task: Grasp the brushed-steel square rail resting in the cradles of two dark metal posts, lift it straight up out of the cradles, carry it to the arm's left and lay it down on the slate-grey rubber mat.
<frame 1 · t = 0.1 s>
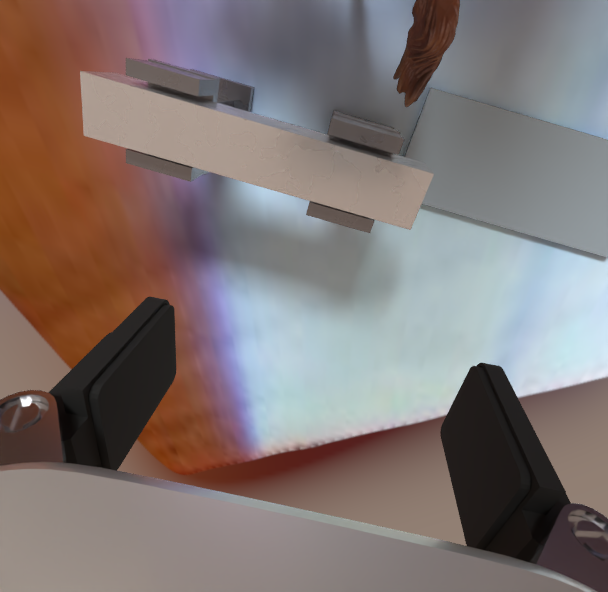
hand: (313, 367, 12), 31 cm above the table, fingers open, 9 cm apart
mat: (525, 178, 37), on the table
rail: (265, 145, 29), point 10 cm above the table, touching post a, post b
post b: (354, 151, 37), on the table
post a: (220, 112, 37), on the table
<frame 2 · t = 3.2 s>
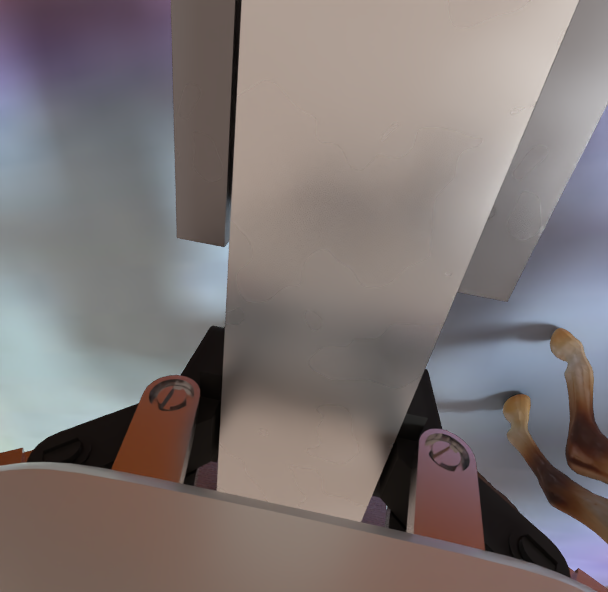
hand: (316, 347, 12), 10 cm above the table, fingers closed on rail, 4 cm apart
rail: (316, 350, 12), point 10 cm above the table, touching gripper, post b
post b: (313, 339, 24), on the table
post a: (362, 105, 17), on the table
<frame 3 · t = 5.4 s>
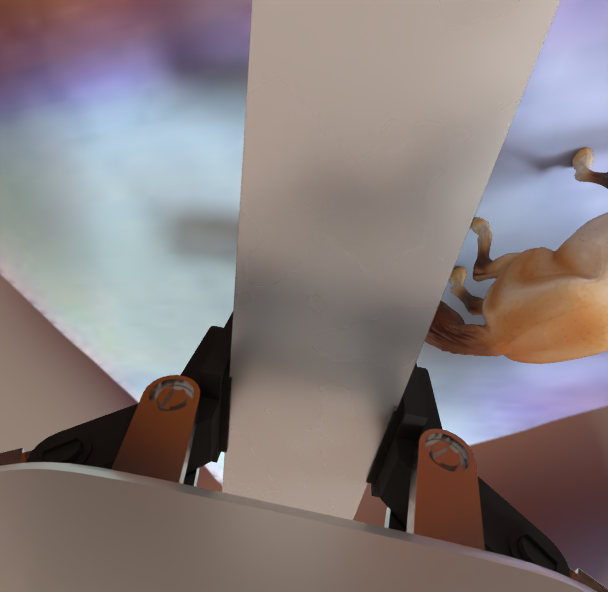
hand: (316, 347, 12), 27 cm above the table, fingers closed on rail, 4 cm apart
rail: (318, 338, 13), point 27 cm above the table, touching gripper
horse figurine: (513, 184, 35), on the table
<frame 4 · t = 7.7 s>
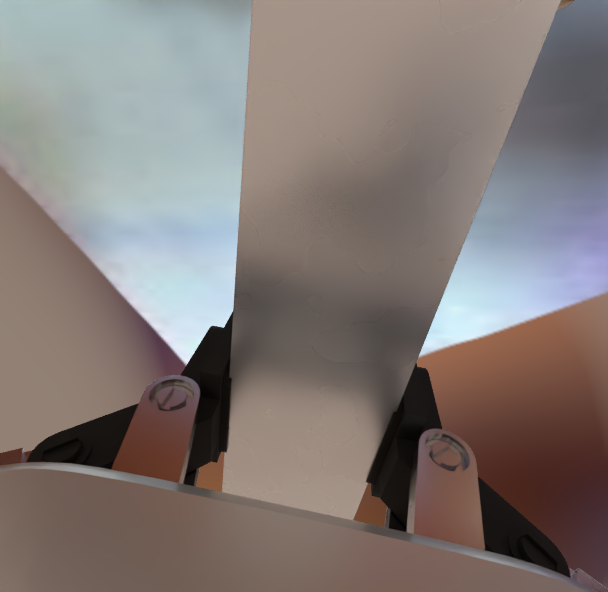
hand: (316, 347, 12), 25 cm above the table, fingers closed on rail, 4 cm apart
rail: (318, 339, 13), point 25 cm above the table, touching gripper
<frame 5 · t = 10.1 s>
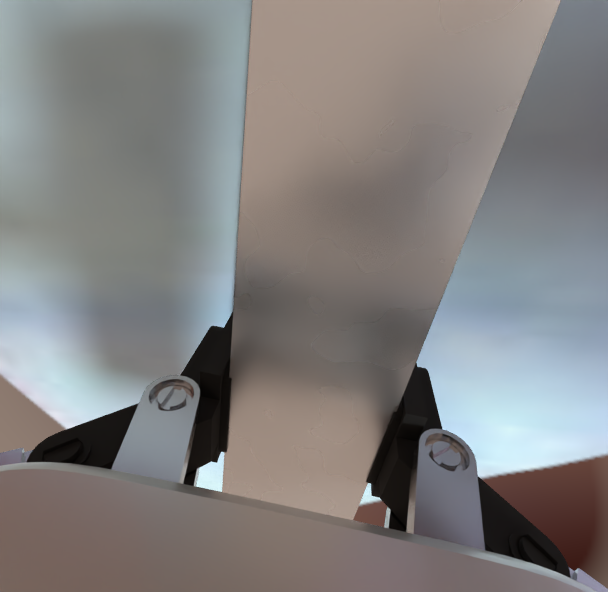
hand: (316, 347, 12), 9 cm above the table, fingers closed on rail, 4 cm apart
rail: (318, 339, 13), point 9 cm above the table, touching gripper
when the fingers open (2 cm above the table, at t = 12.4 s): rail drops 1 cm, resting on mat.
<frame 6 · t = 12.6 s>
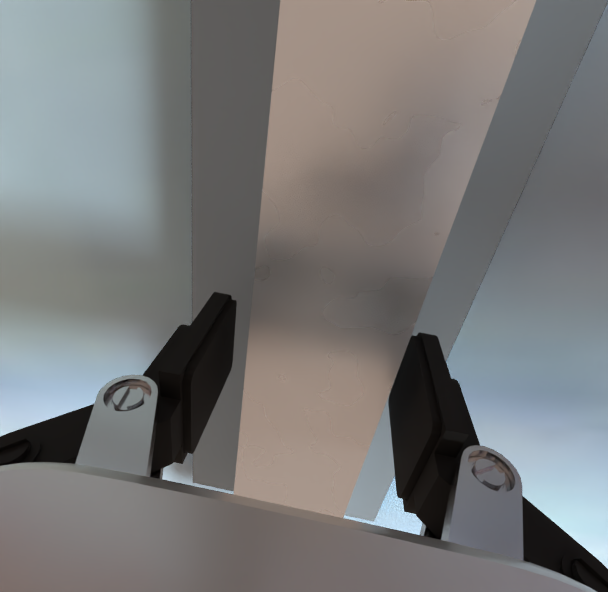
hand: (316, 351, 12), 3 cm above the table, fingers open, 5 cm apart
mat: (322, 312, 14), on the table
rail: (324, 319, 14), point 1 cm above the table, touching mat
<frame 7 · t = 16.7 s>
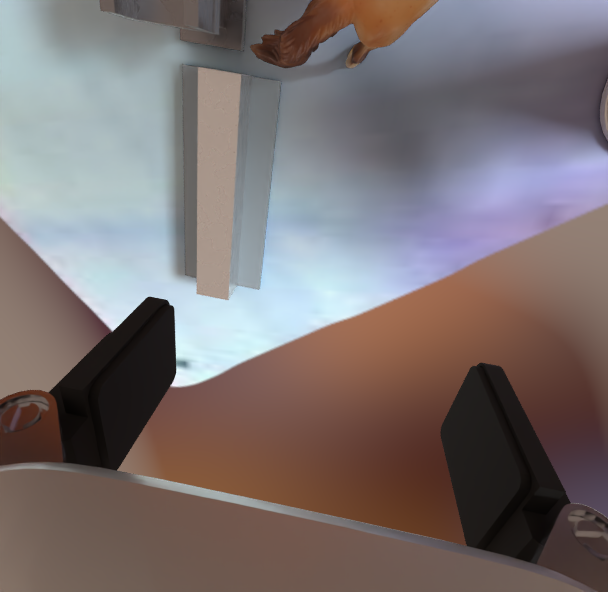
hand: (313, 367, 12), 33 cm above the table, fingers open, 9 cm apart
mat: (227, 191, 43), on the table
rail: (226, 192, 43), point 1 cm above the table, touching mat
post b: (214, 8, 35), on the table
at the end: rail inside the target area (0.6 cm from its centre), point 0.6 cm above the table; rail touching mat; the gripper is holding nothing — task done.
